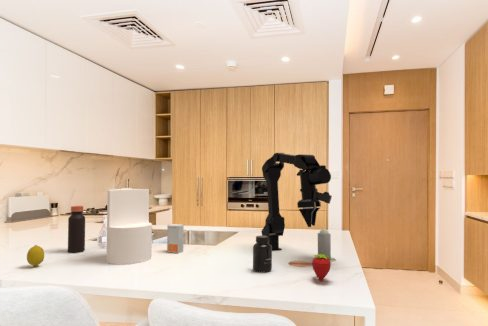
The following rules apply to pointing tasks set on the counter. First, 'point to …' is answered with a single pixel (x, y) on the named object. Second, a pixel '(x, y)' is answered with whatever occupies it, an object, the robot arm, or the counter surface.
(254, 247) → the supplement bottle
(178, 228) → the skincare box
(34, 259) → the lemon
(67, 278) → the counter surface
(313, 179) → the robot arm
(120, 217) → the white stepped holder
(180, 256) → the counter surface
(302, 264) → the card
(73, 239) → the vinegar
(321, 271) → the strawberry
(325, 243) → the grey tube
